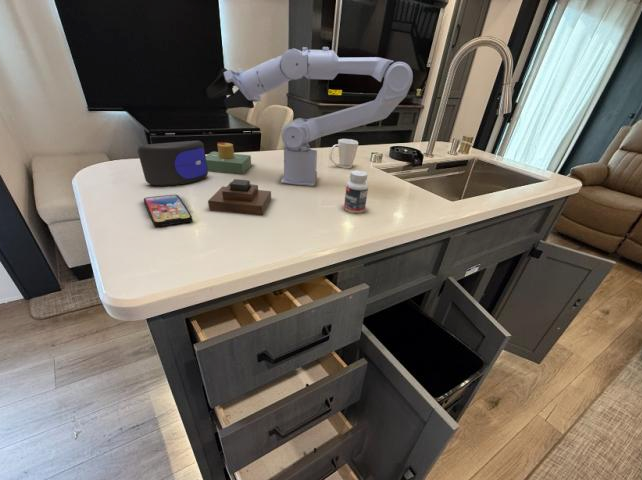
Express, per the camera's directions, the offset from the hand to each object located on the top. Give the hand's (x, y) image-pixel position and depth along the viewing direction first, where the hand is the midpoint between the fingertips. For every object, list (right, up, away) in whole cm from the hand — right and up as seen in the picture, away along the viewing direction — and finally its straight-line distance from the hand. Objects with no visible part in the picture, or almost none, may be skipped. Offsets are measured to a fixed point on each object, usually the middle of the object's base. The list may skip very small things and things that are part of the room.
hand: (217, 99), depth 84 cm
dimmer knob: (-2, -9, +13) cm, 16 cm away
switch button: (+9, -27, -10) cm, 30 cm away
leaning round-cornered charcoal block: (-11, -21, +2) cm, 24 cm away
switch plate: (+9, -30, -8) cm, 32 cm away
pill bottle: (+36, -30, -4) cm, 47 cm away
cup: (+33, -7, +26) cm, 43 cm away
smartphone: (-5, -33, -14) cm, 37 cm away
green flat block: (-2, -12, +14) cm, 19 cm away
